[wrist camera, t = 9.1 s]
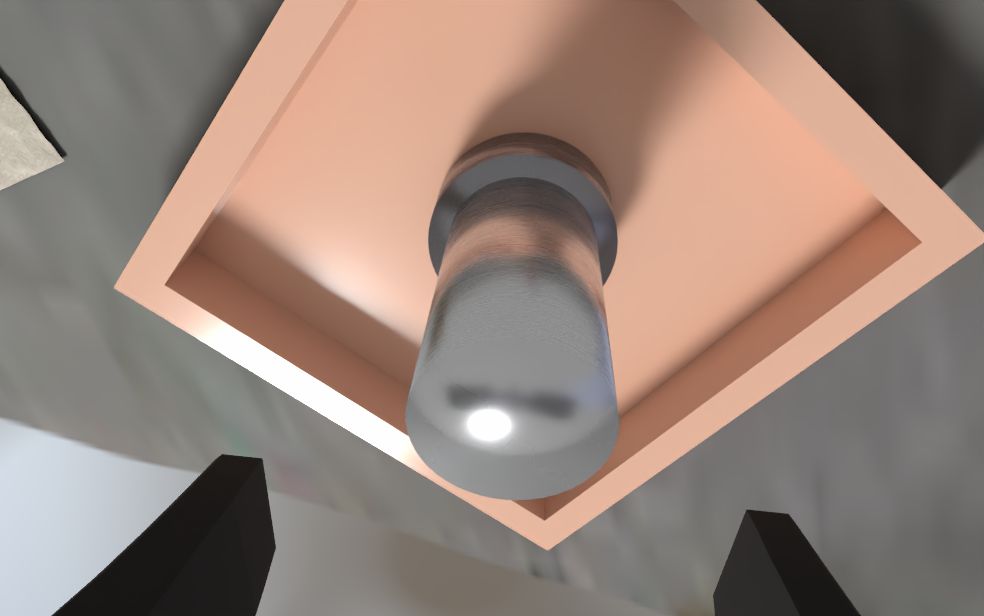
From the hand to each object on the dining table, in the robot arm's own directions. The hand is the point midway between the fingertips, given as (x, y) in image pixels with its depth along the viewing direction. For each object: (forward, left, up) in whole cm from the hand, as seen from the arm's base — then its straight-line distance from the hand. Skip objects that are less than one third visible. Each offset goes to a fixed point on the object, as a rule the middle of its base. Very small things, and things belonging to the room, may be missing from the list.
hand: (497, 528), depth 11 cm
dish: (0, 0, -10) cm, 10 cm away
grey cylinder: (0, 0, -10) cm, 10 cm away
